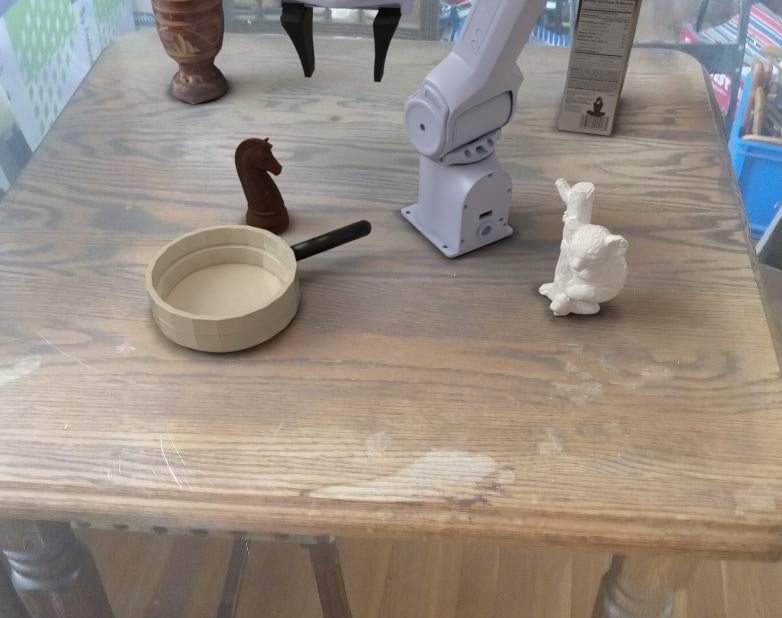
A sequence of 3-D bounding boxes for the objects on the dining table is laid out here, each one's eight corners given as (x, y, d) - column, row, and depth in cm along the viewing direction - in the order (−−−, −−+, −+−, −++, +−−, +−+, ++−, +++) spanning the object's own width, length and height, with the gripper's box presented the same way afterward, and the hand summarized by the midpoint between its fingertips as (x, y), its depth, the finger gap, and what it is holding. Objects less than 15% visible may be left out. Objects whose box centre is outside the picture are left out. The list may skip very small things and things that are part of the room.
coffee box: (567, 93, 108) (590, -43, 96) (620, 99, 106) (650, -39, 94) (556, 131, 102) (579, -10, 90) (612, 137, 100) (643, -5, 88)
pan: (325, 322, 81) (323, 284, 78) (188, 377, 77) (179, 340, 74) (260, 245, 90) (256, 208, 86) (134, 291, 86) (124, 254, 82)
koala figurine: (515, 290, 83) (532, 182, 74) (572, 268, 85) (595, 160, 76) (571, 343, 78) (596, 233, 69) (630, 318, 79) (662, 208, 70)
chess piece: (281, 239, 90) (272, 154, 83) (236, 232, 91) (223, 147, 84) (295, 214, 93) (288, 129, 86) (251, 208, 94) (240, 124, 87)
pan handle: (288, 268, 83) (287, 255, 82) (281, 259, 84) (280, 246, 83) (374, 236, 86) (374, 222, 85) (366, 228, 87) (366, 214, 86)
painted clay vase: (151, 75, 116) (118, -88, 102) (210, 59, 119) (187, -103, 104) (181, 112, 109) (150, -58, 94) (243, 94, 111) (223, -74, 97)
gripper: (420, -72, 85) (415, 62, 95) (278, -76, 88) (288, 54, 98) (409, -44, 80) (405, 93, 90) (260, -50, 83) (272, 84, 93)
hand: (344, 75), depth 94 cm, fingers open, 7 cm apart
